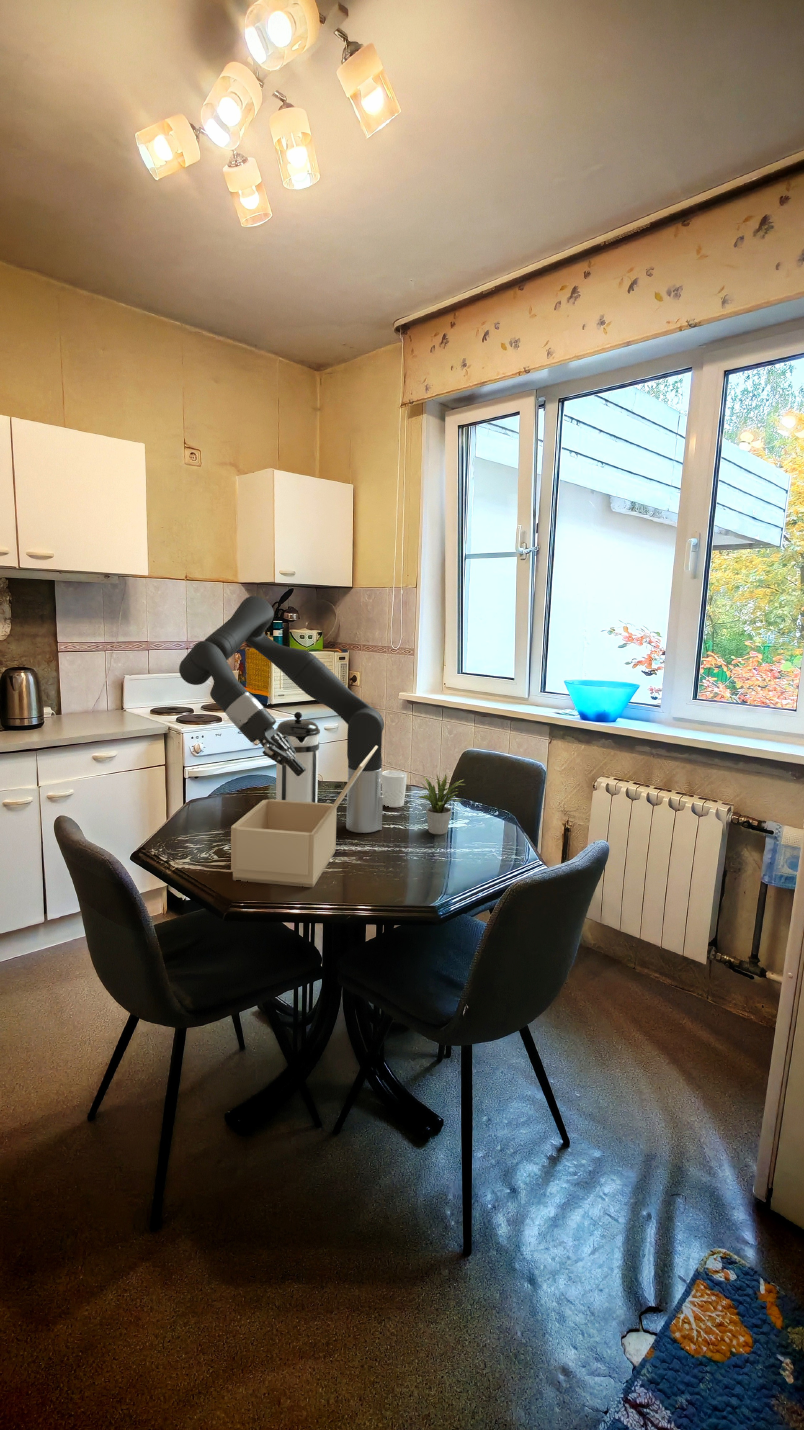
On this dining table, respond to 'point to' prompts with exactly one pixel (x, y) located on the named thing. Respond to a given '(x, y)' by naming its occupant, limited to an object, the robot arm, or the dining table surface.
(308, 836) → the carton
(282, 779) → the coffee press
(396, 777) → the white cup
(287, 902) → the dining table surface
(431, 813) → the house plant
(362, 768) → the lid flap
